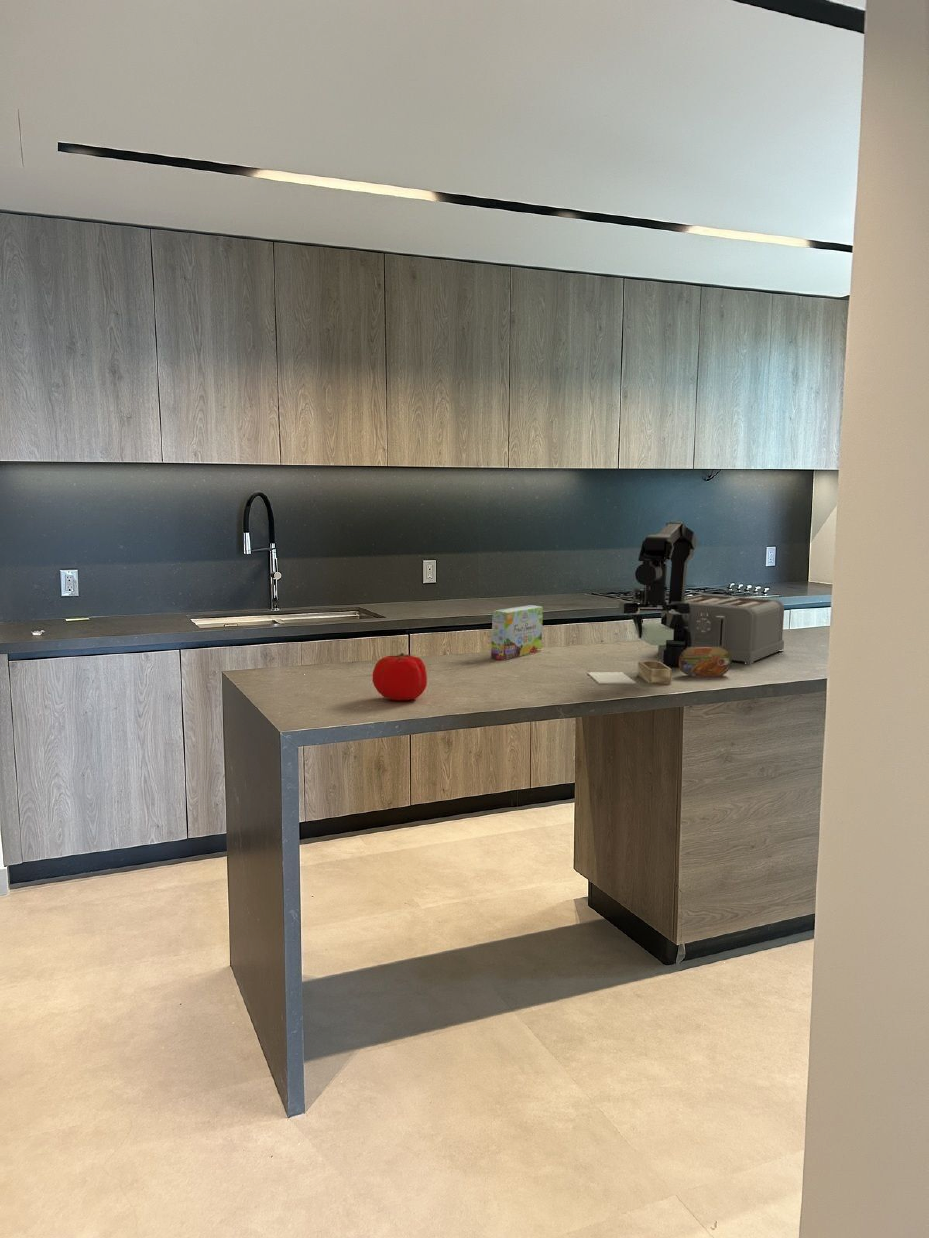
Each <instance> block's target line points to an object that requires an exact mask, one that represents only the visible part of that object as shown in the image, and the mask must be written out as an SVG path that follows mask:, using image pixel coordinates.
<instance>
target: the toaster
mask: <svg viewBox="0 0 929 1238" xmlns="http://www.w3.org/2000/svg"><path fill="white" fill-rule="evenodd" d="M666 602H667V601H666ZM684 602H687V603H689V604H690V606H691V613H690V614H684V615H685V617H686V619H687V621H688V627H689V631H690V634H691V647H687V648H686V649H688V648H694V647H721V648H724V649H726V650H727V651H728V652H729V654H730V656H731V661H736V662H743V664H744V663H746V664H745V665H749V664H751V665H753V664H754V662H755V661H758V660H760V659H762V658H766V657H767V656H770V655H773V654H775V653H777V652H778V651H779V650H782V649H783V650H784V648H785V647H784V646H785V639H783V636H784V635H783V634H784V617H785V605H784V604H783V602H782V601H780V600H778V599H771V598H760V597H750V596H736V595H725V594H723V595H722V594H713V593H704V594H702V593H701V594H698V595H694V596H693V595H692V596H688V597H684ZM667 604H668V602H667ZM666 612H667V611H661V616H660V619H661V618H662V617H663V616H664V615H665V614H666ZM673 642H675V641H673ZM684 643H685V641H684ZM657 647H658V651H657V653H658V654H661V650H662V649H663V645H657ZM752 663H753V664H752Z"/></svg>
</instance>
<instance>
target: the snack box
mask: <svg viewBox="0 0 929 1238" xmlns="http://www.w3.org/2000/svg"><path fill="white" fill-rule="evenodd" d="M543 614H544V607H543V606H539V605H532V604H531V605H522V606H514V607H509V608H502V609H497V610H496V609H495V610H492V619H491V620H492V624H491V625H492V626H491V645H490V647H491V648H490V658H491V659H494V658H495V659H494V660H499V661H505V660H510V658H511V659H514V658H513V657H515V658H519V656H520V657H523V656H522V655H525V656H527V655H526V654H529V655H531V654H530V653H533V652H538V651H541V652H542V639H543V621H544V620H543V617H544V616H543ZM537 649H541V650H537ZM538 653H539V652H538Z"/></svg>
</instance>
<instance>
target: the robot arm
mask: <svg viewBox="0 0 929 1238" xmlns="http://www.w3.org/2000/svg"><path fill="white" fill-rule="evenodd" d="M696 548H697V538H696V534H695V532H694V531H693V530H692V529H691V528H688V527H687V525H686V523H685V522H682V521H669V522H666V524H665V526H664V527H663V528H662V529H661V530H660V531H659V532H658V533H657V534H649V535H647V536H645V538H644V539H643V540H642V544H641V547H640V551H639V555H638V562H642V564H639V565H638V566H637V568H636V569H635V572H634V576H635V580H636V581H637V582H638V584H640V585H643V590H642V589H641V588H634V589H633V590H632V600H621V601H620V603H619V604H618V612H620V613H623V614H626V615H627V616H630V617H631V619H632V621H633V624H634V628H635V627H636V630H637V634H638V635H637V634H636V635H637V636H638V639H640V640H642V639H641V636H642V623H643V614H641V611H643V612H645V611H646V612H647V611H648V612H649V611H651V612H652V611H655V612H656V611H660V612H662V611H667V612H666V614H665V615H664V616H663V617H662V618H661V617H660V623H661V624H663V625H665V626H667V627H669V628H671V629H673V630H674V635H673V640H666V645H663V649H662V650H661V653H660V662H661V663H663V664H664V665H666V666H667V667H669V668H680V667H679V657H680V655H681V653H682V652H683V651H684V650H686V648H687V647H691V634H690V631H689V627H688V621H687V619H686V617H685V615H684V614H690V613H691V606H690V604H689V603H687V602H684V598H685V592H686V583H687V582H686V581H687V573H688V572H687V570H688V563H689V562H690V560H691V559H692V558H693V556H694V555H695V554H694V553H695V552H694V551H695V550H696ZM669 560H670V562H671V566H670V579H669V587H668V586H667V577H668V576H667V574H668V562H669ZM668 588H669V592H668V604H667V600H666V598H667V591H668ZM673 641H675V642H673ZM684 641H685V643H684Z"/></svg>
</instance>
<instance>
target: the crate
mask: <svg viewBox="0 0 929 1238" xmlns="http://www.w3.org/2000/svg"><path fill="white" fill-rule="evenodd" d="M672 674H673V670H672V667H667V666H666V665H664V664H663V663H661V661H659V660H658V661H657V660H649V661H648V660H644V661H643V660H638V661H637V676H638V677H639V678H641V679H642V680H644V681H645V682H646V681H647V682H646V683H647V684H649V685H659V684H660V685H670V684H672V677H673V675H672Z"/></svg>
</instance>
